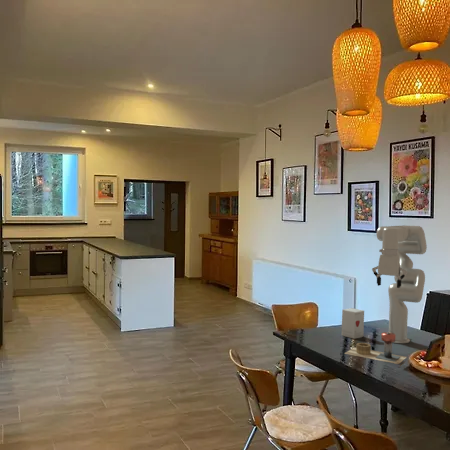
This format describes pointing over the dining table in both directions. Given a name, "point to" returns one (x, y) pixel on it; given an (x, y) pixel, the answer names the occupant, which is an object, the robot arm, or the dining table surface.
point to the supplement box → (352, 323)
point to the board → (373, 354)
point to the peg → (388, 343)
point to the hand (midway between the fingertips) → (388, 286)
